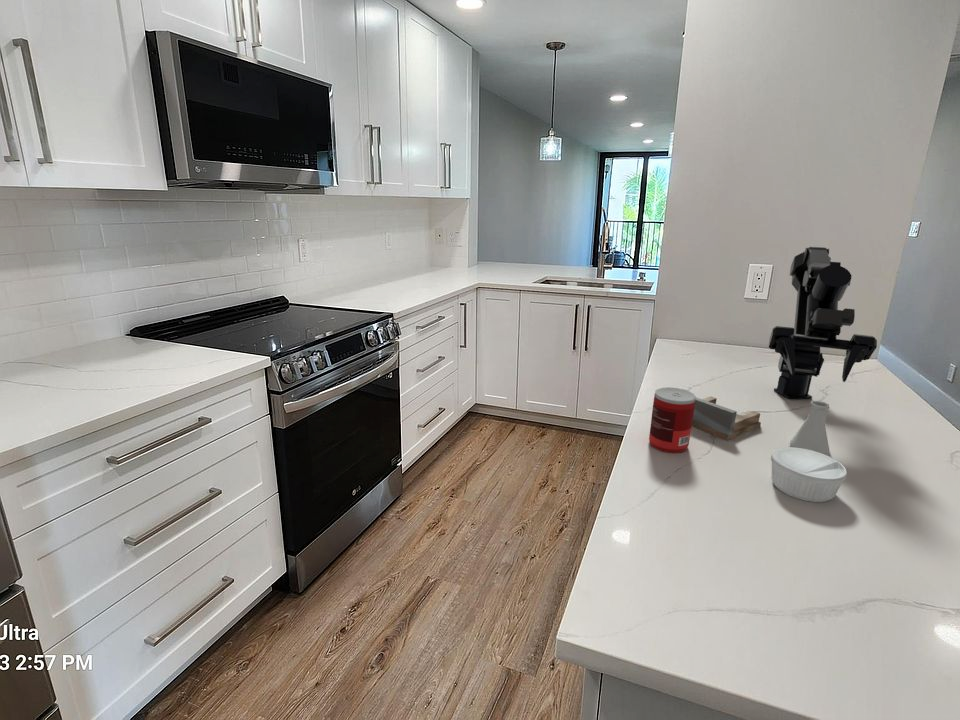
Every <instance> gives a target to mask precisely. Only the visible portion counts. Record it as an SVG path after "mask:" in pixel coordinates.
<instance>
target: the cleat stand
mask: <svg viewBox="0 0 960 720" xmlns="http://www.w3.org/2000/svg"><path fill="white" fill-rule="evenodd" d="M717 399H718V398H717V397H714V396H708V397H705V398H699V397H696V401H695V408H694V414H693V421H692V427H693V428H695V429H698V430H700V431H703V432H705V433H707V434H710V435H712V436H715V437H718V438H719V439H723V440H725V441H728V440H731V439H733V438H735V437H738V436H740V435H743V434H745V433H749V432H750V431H753V430H755V429H758V428H760V427H761V424H762V422H760V416H761V413H760V412H758V411H754V410H753V411H750V412H748V413H747V412H746V413H745V414H741V415H740V414H738V413H737V412H738V411H736V410H733V409H731V408H728V407H725V406H723V405H719V404H717ZM692 427H691V428H692Z"/></svg>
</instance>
